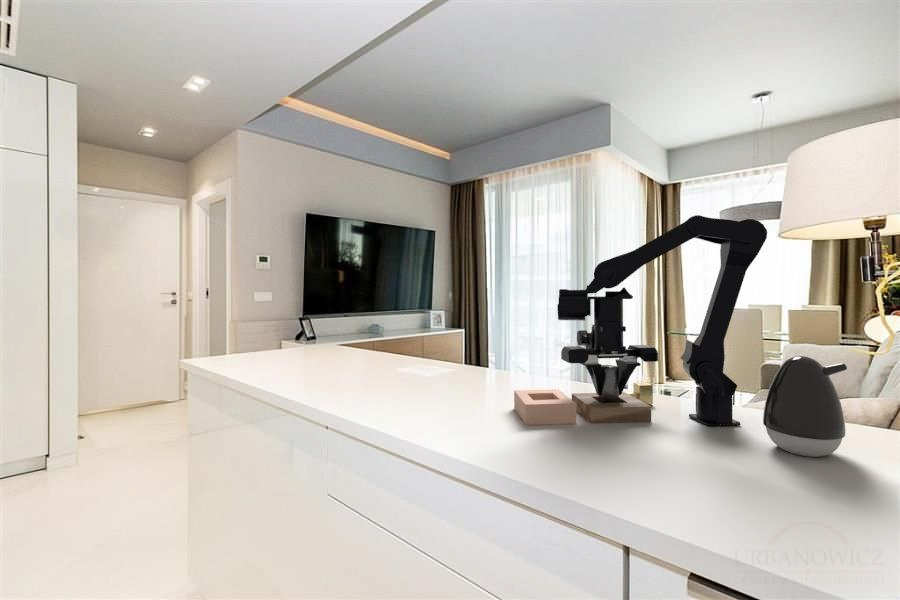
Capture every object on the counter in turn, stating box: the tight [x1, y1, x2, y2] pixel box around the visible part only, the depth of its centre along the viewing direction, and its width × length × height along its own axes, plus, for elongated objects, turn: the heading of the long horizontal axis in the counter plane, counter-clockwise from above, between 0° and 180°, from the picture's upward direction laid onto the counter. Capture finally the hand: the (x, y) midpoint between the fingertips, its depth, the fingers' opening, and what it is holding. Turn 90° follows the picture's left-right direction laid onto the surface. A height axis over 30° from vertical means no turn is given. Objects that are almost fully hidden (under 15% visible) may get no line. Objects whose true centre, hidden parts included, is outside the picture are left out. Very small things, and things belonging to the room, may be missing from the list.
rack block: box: [513, 388, 577, 426], centre depth 91 cm, size 12×10×4 cm
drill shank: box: [599, 364, 619, 403], centre depth 91 cm, size 4×4×10 cm
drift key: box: [626, 381, 654, 405], centre depth 99 cm, size 3×11×4 cm, turn 92°
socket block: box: [571, 391, 652, 424], centre depth 92 cm, size 15×12×3 cm
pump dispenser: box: [762, 355, 848, 458], centre depth 69 cm, size 10×10×15 cm
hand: (608, 394), depth 91 cm, fingers closed on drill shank, 4 cm apart
